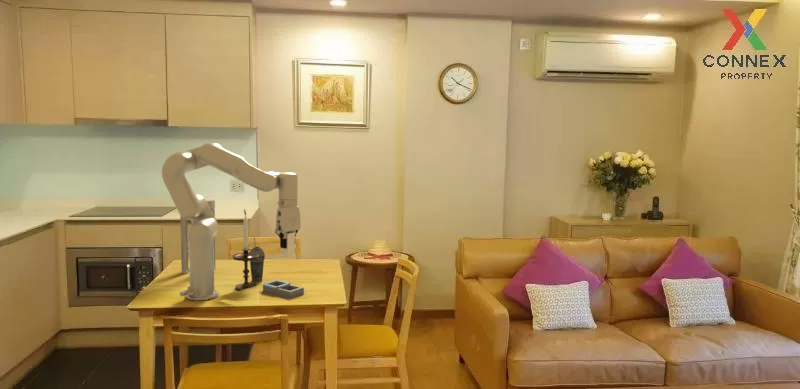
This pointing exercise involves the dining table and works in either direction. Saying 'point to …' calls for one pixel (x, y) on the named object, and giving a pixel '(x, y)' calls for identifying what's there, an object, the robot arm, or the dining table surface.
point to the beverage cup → (257, 264)
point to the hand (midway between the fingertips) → (287, 246)
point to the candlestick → (245, 257)
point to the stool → (185, 240)
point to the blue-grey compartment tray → (282, 289)
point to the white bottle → (289, 245)
